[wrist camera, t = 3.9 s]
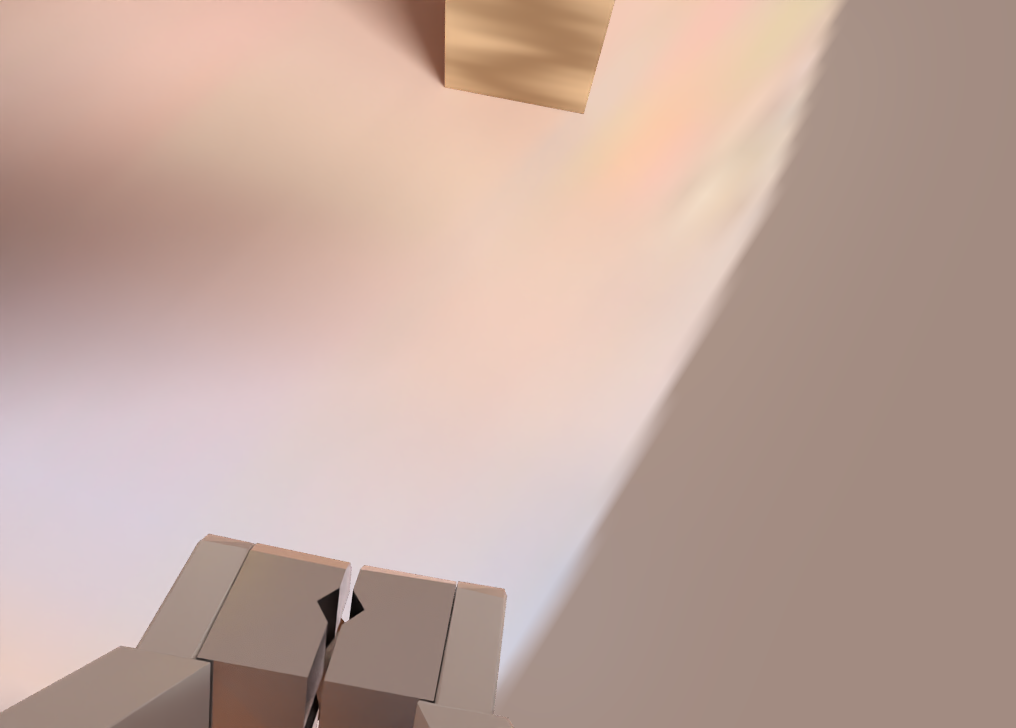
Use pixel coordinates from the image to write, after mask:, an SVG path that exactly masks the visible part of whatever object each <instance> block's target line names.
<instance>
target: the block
mask: <svg viewBox="0 0 1016 728" xmlns="http://www.w3.org/2000/svg"><path fill="white" fill-rule="evenodd" d="M614 3H615V0H445V87H447V88H452V89H457V90H462V91H467V92H473V93H478V94H483V95H488V96H493V97H499V98H504V99H509V100H514V101H519V102H524V103H530V104H535V105H540V106H545V107H550V108H555V109H561V110H566V111H571V112H576V113H581V114H584V111H585V107H586V104H587V100H588V96H589V93H590V89H591V86H592V82H593V78H594V75H595V71H596V67H597V64H598V60H599V57H600V53H601V49H602V46H603V42H604V39H605V35H606V31H607V28H608V24H609V21H610V17H611V13H612V10H613V6H614Z"/></svg>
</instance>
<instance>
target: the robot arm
mask: <svg viewBox="0 0 1016 728" xmlns="http://www.w3.org/2000/svg"><path fill="white" fill-rule="evenodd" d="M351 570H352V567H351V563H349V562H345V561H340V560H335V559H330V558H326V557H321V556H316V555H311V554H307V553H302V552H297V551H293V550H288V549H283V548H278V547H274V546H269V545H264V544H259V543H257V544H253V543H249V542H245V541H240V540H236V539H231V538H226V537H222V536H217V535H212V534H208V535H207V536H206V537H204V538H203V539H202V540H201V541H199V542H198V543H197V545H196V547H195V549H194V550H193V552H192V554H191V555H190V557H189V559H188V560H187V562H186V564H185V566H184V567H183V569H182V571H181V572H180V574H179V576H178V577H177V579H176V581H175V583H174V584H173V586H172V588H171V589H170V591H169V593H168V594H167V596H166V598H165V599H164V601H163V603H162V605H161V606H160V608H159V610H158V611H157V613H156V615H155V616H154V618H153V620H152V622H151V623H150V625H149V627H148V628H147V630H146V632H145V633H144V635H143V637H142V639H141V640H140V642H139V644H138V645H137V647H136V648H131V647H125V646H119V647H118V648H116V649H114V650H112V651H110V652H109V653H107V654H105V655H103V656H101V657H100V658H98V659H96V660H94V661H92V662H91V663H89V664H87V665H85V666H83V667H82V668H80V669H78V670H76V671H74V672H73V673H71V674H69V675H67V676H65V677H64V678H62V679H60V680H58V681H56V682H55V683H53V684H51V685H49V686H47V687H46V688H44V689H42V690H40V691H38V692H37V693H35V694H33V695H31V696H29V697H28V698H26V699H24V700H22V701H20V702H19V703H17V704H15V705H13V706H11V707H10V708H8V709H6V710H4V711H2V712H1V713H0V728H317V722H318V720H319V726H318V728H514V727H513V725H512V723H511V722H510V720H509V718H507V717H503V716H498V715H493V714H494V705H495V697H496V688H497V679H498V670H499V661H500V652H501V644H502V635H503V626H504V617H505V608H506V599H507V595H506V592H505V589H502V588H496V587H490V586H484V585H478V584H472V583H466V582H460V581H458V584H457V587H456V581H450V580H445V579H439V578H433V577H428V576H422V575H417V574H411V573H405V572H400V571H394V570H389V569H383V568H377V567H372V566H366V565H364V566H363V567H362V568H361V569H360V572H359V575H358V578H357V581H356V583H355V586H354V589H353V595H352V603H351V610H350V618H349V620H348V621H347V622H344V621H343V619H342V618H341V617H342V614H343V611H344V608H345V604H346V601H347V598H348V595H349V592H350V581H351ZM455 588H456V590H455ZM454 595H455V596H454ZM453 600H454V601H453ZM451 611H452V612H451ZM450 616H451V617H450ZM448 627H449V628H448ZM447 632H448V633H447ZM445 643H446V644H445ZM444 648H445V649H444Z"/></svg>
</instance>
